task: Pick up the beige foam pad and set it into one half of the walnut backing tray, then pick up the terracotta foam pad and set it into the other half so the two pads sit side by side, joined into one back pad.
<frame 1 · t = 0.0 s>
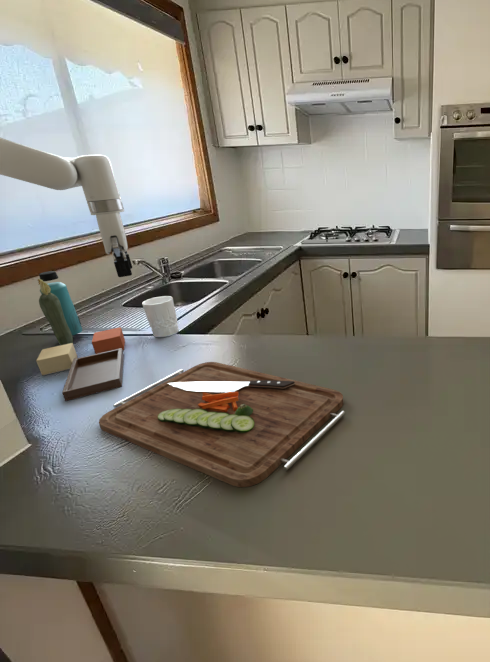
hand: (125, 272, 114), 19 cm above the table, tool pointing down, fingers open, 9 cm apart
white cup: (166, 333, 123), on the table
terracotta pad: (111, 347, 115), on the table
beverage bottle: (72, 338, 125), on the table
vegetable: (67, 350, 116), on the table
backing tray: (97, 375, 99), on the table
beige pad: (60, 365, 106), on the table
chopping board: (223, 413, 80), on the table
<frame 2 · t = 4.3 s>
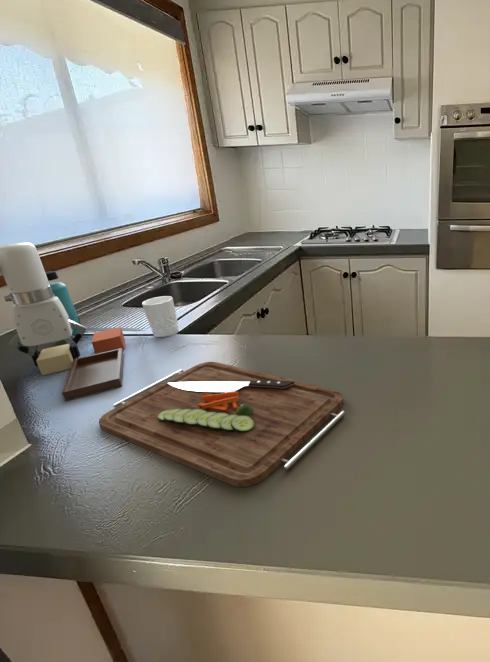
hand: (59, 363, 106), 1 cm above the table, tool pointing down, fingers closed on beige pad, 6 cm apart
beige pad: (60, 365, 106), on the table, touching gripper
everything else where it was.
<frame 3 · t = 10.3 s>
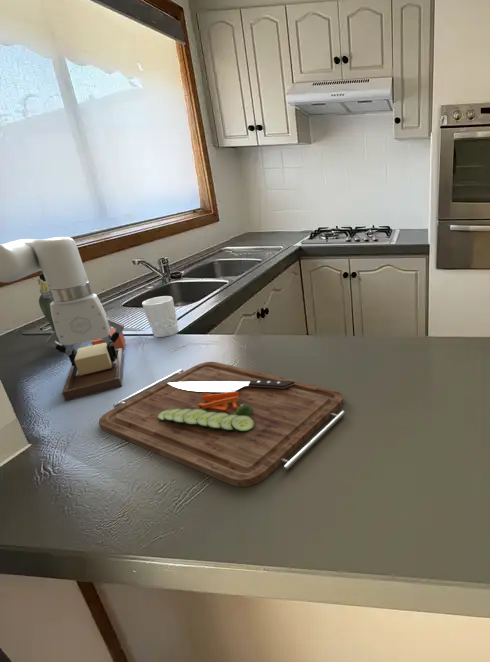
hand: (96, 362, 102), 2 cm above the table, tool pointing down, fingers closed on beige pad, 6 cm apart
beige pad: (97, 365, 102), point 1 cm above the table, touching gripper
everything else where it was.
when the fingers open (3 cm above the table, at t = 21.6 s): beige pad drops 1 cm, resting on backing tray.
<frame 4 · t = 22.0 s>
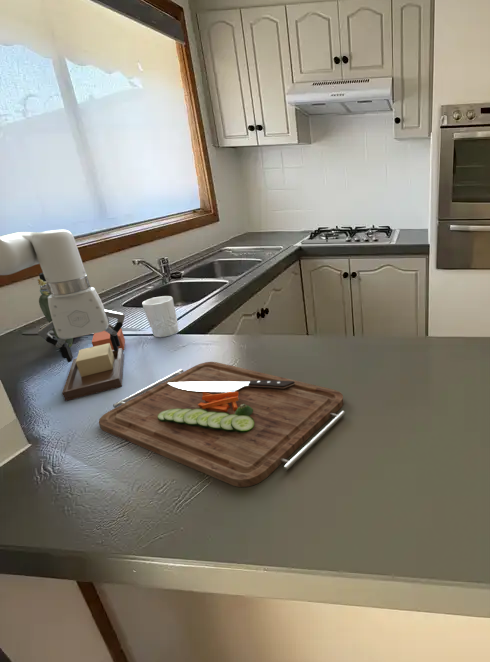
hand: (94, 354, 101), 4 cm above the table, tool pointing down, fingers open, 9 cm apart
beige pad: (98, 366, 103), point 1 cm above the table, touching backing tray
everything else where it was.
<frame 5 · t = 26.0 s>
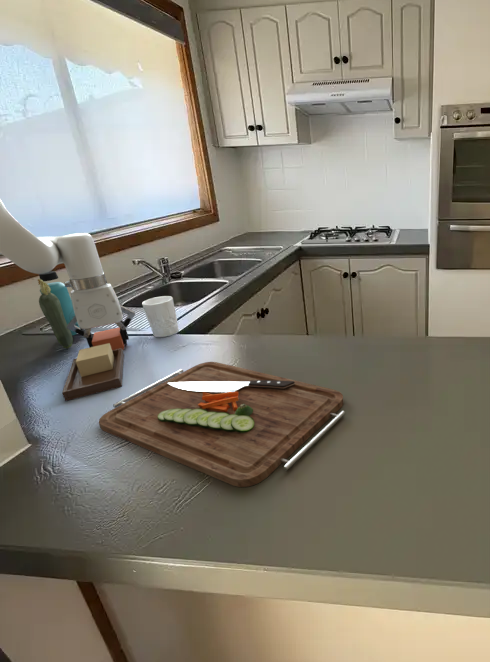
hand: (110, 345, 115), 1 cm above the table, tool pointing down, fingers closed on terracotta pad, 6 cm apart
terracotta pad: (111, 347, 115), on the table, touching gripper
everything else where it was.
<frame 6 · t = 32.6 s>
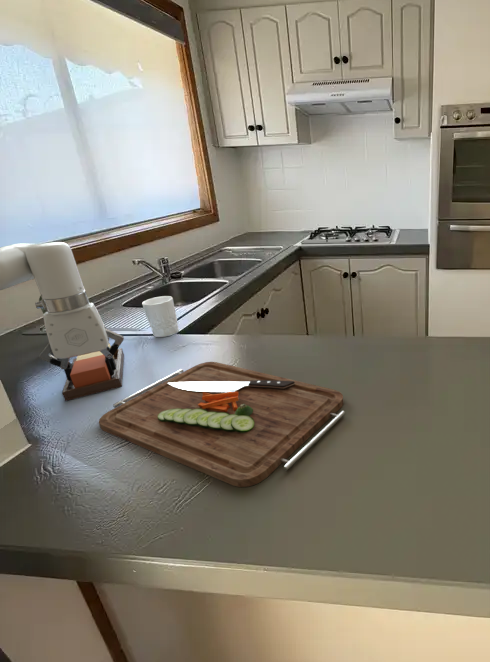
hand: (94, 376, 95), 2 cm above the table, tool pointing down, fingers closed on terracotta pad, 6 cm apart
terracotta pad: (95, 379, 95), point 1 cm above the table, touching gripper
everything else where it was.
when the fingers open (3 cm above the table, at t = 44.1 s): terracotta pad drops 2 cm, resting on backing tray.
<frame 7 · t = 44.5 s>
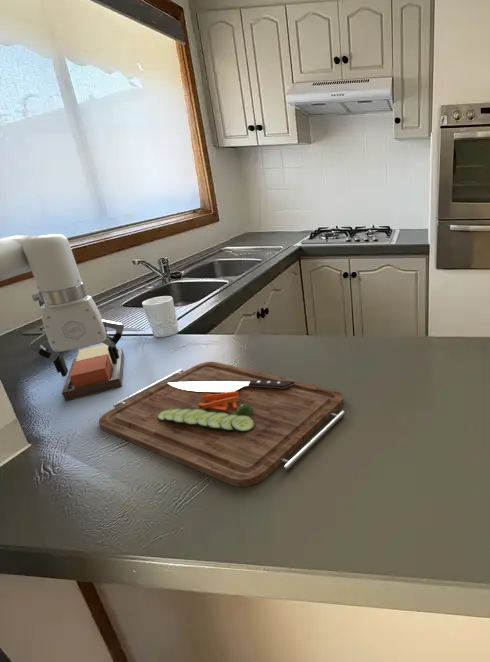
hand: (90, 367, 94), 4 cm above the table, tool pointing down, fingers open, 9 cm apart
terracotta pad: (95, 380, 96), point 1 cm above the table, touching backing tray
everything else where it was.
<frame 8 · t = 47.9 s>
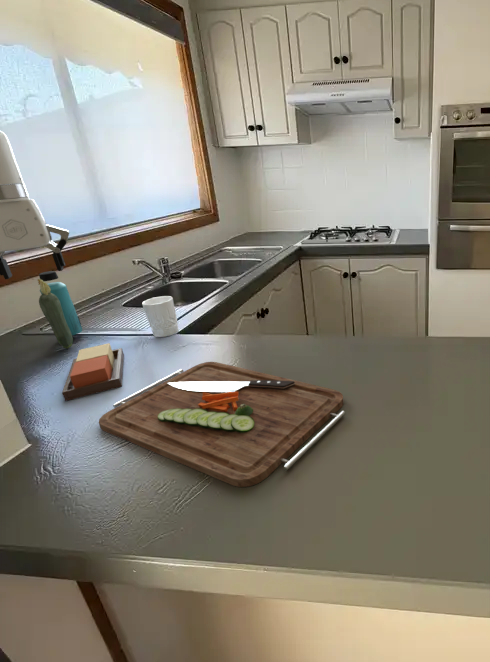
hand: (35, 273, 94), 24 cm above the table, tool pointing down, fingers open, 9 cm apart
nothing on the table moved.
at the end: beige pad inside the target area in the backing tray (4.3 cm from its centre), point 0.6 cm above the backing tray's base; terracotta pad inside the target area in the backing tray (4.2 cm from its centre), point 0.6 cm above the backing tray's base; terracotta pad 8.4 cm from the beige pad (horizontally) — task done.
